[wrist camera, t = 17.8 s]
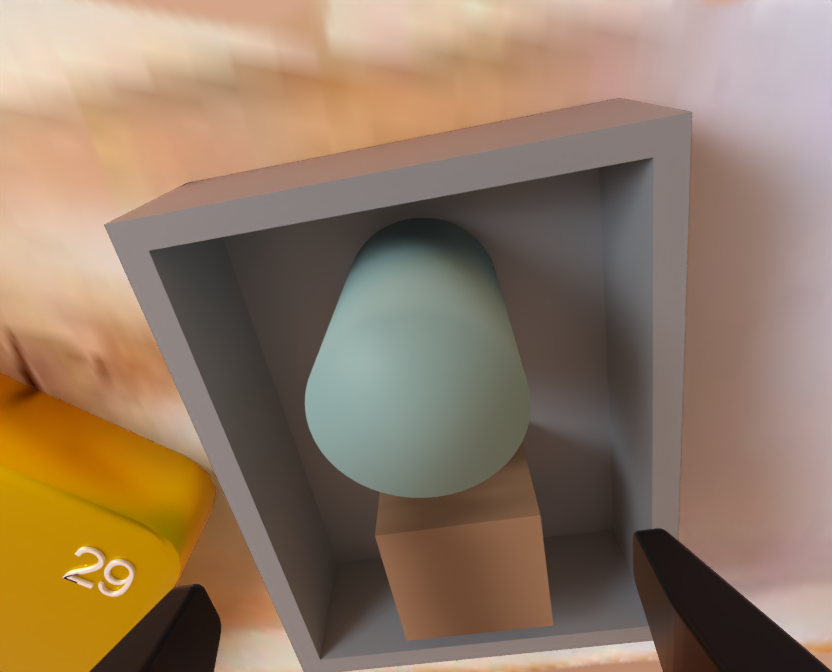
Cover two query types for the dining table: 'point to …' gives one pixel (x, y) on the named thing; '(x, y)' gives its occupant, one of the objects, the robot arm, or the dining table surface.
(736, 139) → the dining table surface
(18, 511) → the element tile
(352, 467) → the teal cylinder
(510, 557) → the walnut cube
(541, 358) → the tote
